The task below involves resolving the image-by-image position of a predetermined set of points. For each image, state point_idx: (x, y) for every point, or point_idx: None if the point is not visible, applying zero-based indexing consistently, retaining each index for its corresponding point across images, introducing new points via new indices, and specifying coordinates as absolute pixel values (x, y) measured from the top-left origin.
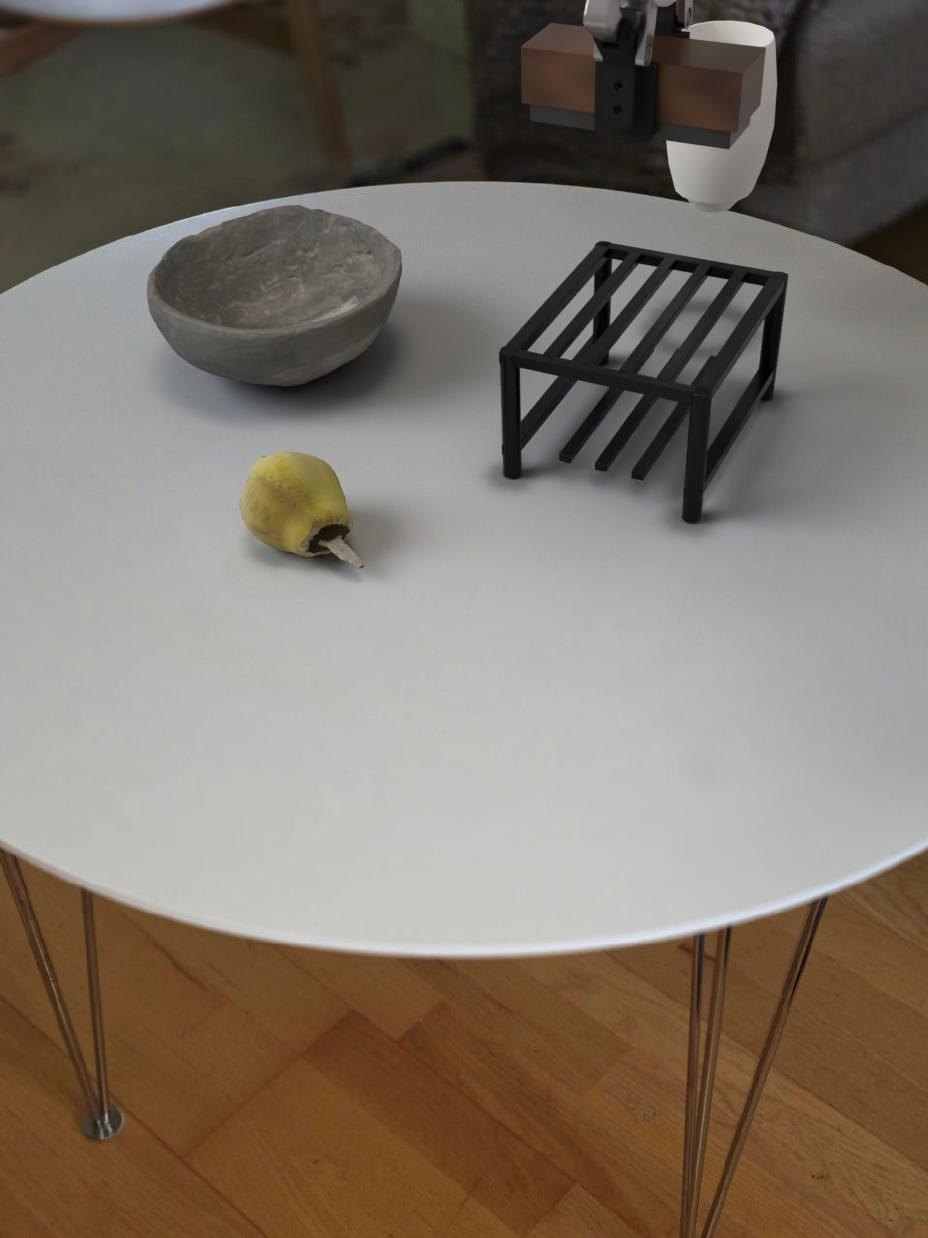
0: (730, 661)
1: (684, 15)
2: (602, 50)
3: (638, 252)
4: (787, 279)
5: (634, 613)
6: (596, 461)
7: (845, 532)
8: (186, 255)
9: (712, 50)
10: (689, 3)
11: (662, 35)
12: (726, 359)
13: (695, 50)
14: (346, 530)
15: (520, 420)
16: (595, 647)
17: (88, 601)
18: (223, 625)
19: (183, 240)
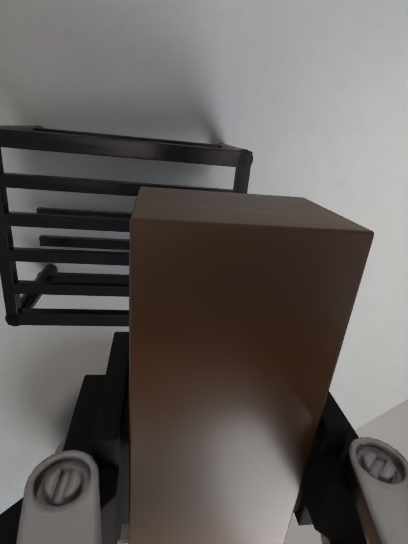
0: (357, 86)
1: (97, 492)
2: None
3: (13, 286)
4: None
5: (323, 159)
6: None
7: (203, 25)
8: (128, 530)
9: (208, 352)
10: (54, 520)
11: (128, 477)
12: (186, 150)
13: (219, 387)
14: None
15: None
16: (355, 173)
17: (355, 402)
18: (363, 348)
19: (123, 541)
